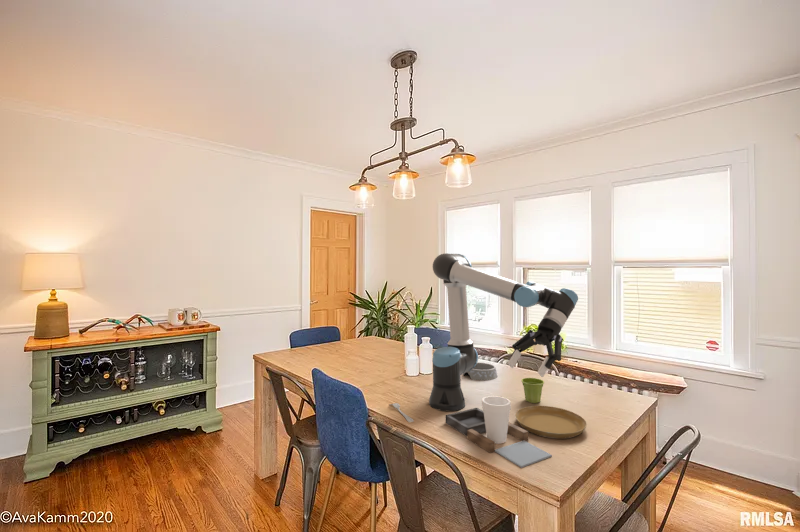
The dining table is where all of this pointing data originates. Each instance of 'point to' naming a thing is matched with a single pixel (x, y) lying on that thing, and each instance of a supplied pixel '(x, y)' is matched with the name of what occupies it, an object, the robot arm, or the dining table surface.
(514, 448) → the mat
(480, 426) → the track
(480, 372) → the dog bowl
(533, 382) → the plant pot
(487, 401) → the foam cup
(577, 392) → the dining table surface
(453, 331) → the robot arm
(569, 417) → the plant saucer
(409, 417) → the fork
